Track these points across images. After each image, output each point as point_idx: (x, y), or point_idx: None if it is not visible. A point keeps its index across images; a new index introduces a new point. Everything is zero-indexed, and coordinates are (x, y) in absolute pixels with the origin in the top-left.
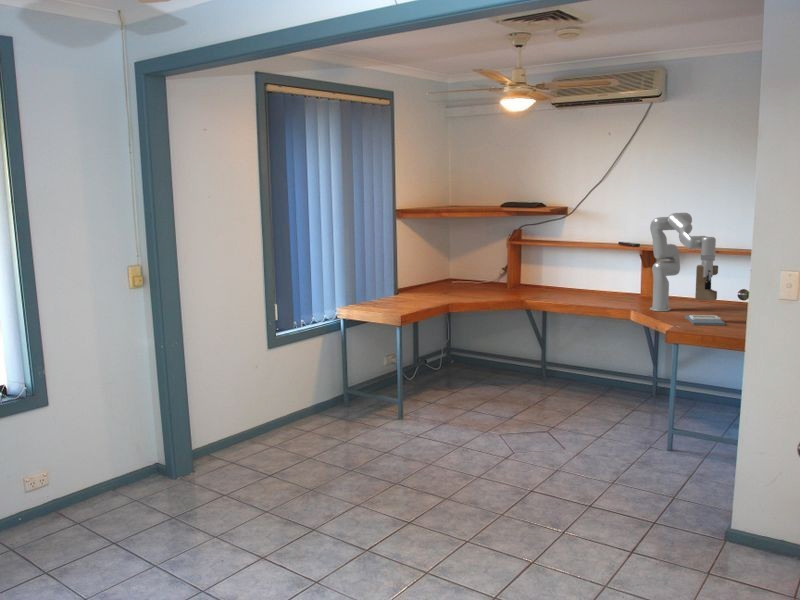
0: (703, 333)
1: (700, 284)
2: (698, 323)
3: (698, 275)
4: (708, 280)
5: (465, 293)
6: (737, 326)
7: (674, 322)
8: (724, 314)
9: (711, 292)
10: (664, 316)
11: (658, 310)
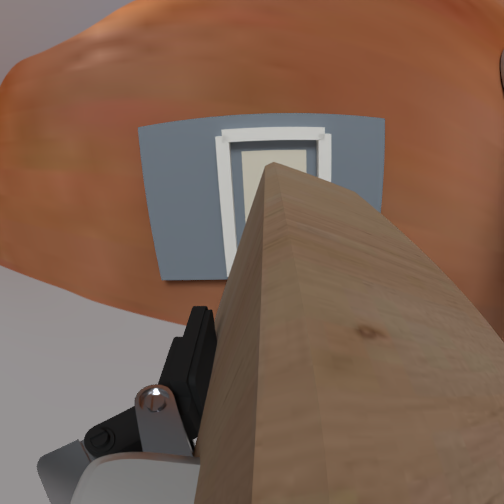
0: (5, 168)
1: (237, 292)
2: (142, 153)
3: (228, 465)
4: (123, 433)
5: None
6: (159, 313)
7: (206, 36)
8: None
9: None
10: (393, 26)
11: (502, 60)
